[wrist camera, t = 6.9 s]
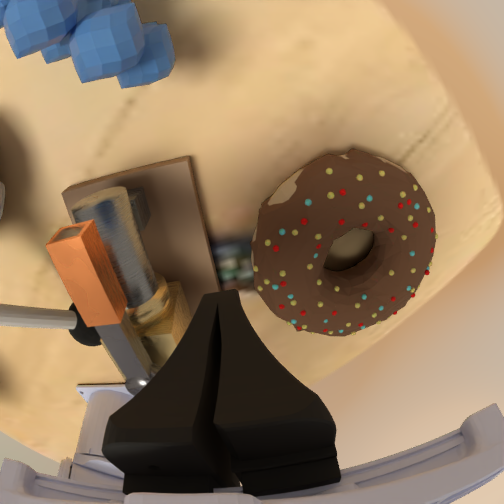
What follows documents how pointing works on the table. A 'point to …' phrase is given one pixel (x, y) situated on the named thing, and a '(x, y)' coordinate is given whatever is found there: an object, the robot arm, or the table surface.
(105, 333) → the valve lever
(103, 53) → the grapes
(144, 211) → the pipe and valve body
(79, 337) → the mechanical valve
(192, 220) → the walnut board
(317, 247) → the donut
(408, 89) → the table surface
